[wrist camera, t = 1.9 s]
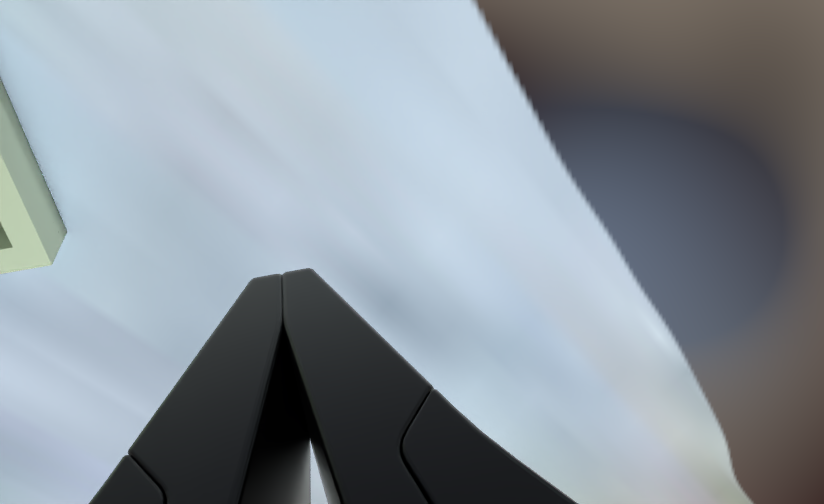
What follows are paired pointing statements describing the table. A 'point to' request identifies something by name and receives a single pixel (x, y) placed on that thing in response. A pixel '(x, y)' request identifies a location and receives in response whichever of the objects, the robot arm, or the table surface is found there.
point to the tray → (24, 201)
